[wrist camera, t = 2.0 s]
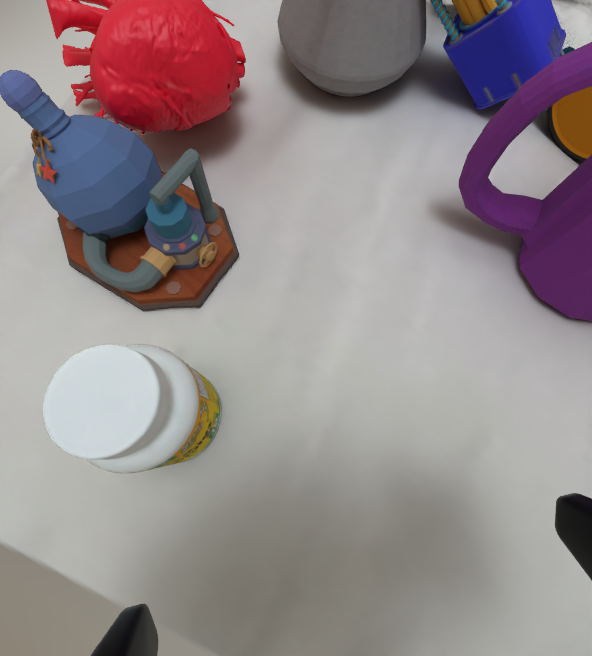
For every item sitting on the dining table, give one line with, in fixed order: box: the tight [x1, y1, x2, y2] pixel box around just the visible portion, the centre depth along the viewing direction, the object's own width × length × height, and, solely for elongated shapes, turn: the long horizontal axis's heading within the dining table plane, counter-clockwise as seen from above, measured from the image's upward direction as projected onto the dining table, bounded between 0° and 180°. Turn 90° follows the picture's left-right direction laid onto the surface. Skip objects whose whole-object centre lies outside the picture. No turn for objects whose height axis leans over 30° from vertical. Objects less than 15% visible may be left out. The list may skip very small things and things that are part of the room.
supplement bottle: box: [43, 344, 221, 473], centre depth 17 cm, size 5×5×10 cm
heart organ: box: [46, 0, 246, 135], centre depth 24 cm, size 10×12×12 cm
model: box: [0, 70, 239, 310], centre depth 21 cm, size 12×9×9 cm
